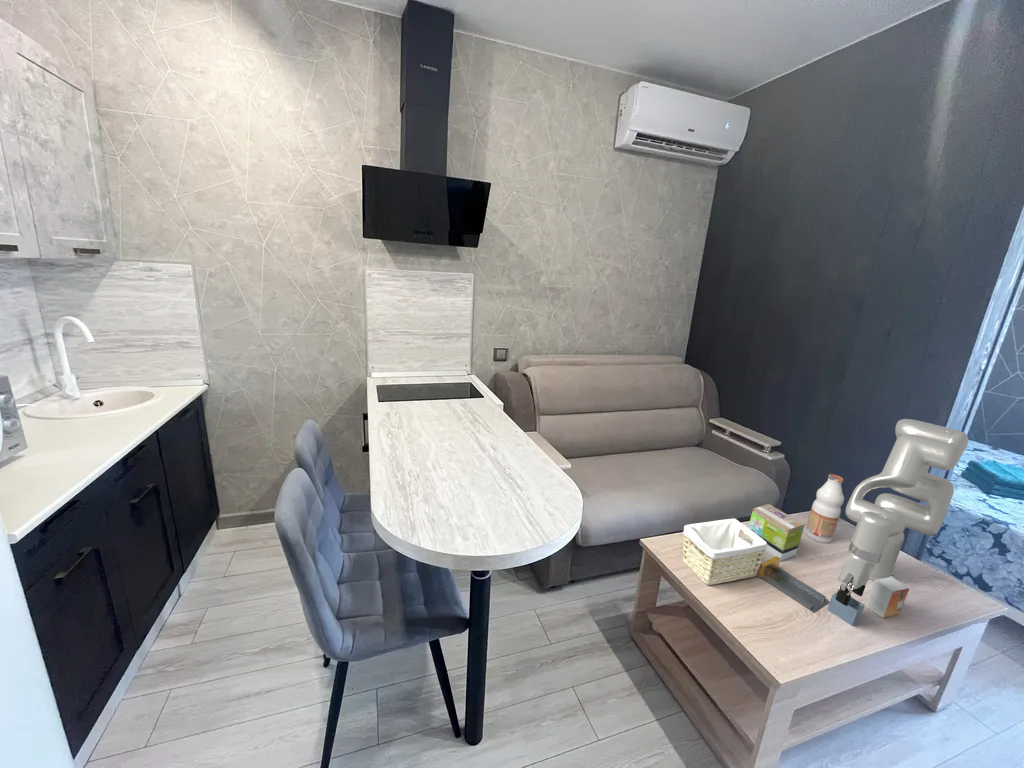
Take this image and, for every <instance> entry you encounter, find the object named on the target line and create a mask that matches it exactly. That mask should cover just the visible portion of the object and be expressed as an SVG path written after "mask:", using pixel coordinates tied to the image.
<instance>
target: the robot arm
mask: <svg viewBox="0 0 1024 768" xmlns="http://www.w3.org/2000/svg"><path fill="white" fill-rule="evenodd" d="M894 430H895V431H894V432H895V437H896V440H895V442H894V445H893V447H892V450H891V451H890V453H889V455H888V458H887V460H886V462H885V464H884V467H883V469H882V471H881V472H880V473H879V474H876V475H873V476H870V477H868V478H866V479H864V480H862V481H861V482H860V483H858V485H856V487H855V488H854V490H853V492H851V493H852V494H851V496H850V497H849V499H848V501H847V504H846V507H845V515H846V517H847V518H848V519H849V520H851V521H853V522H855V523H856V526H855V528H854V529H855V530H854V532H853V535H852V539H851V541H850V544H849V546H848V547H849V548H848V553H849V554H848V556H847V558H846V560H845V562H844V563H843V566H842V568H841V571H840V573H839V576H838V581H839V582H841V583H840V586H839V587H838V590H837V592H838V593H837V596H836V600H837V601H838V602H840V603H842V604H843V605H845V606H848V604H849V601H850V598H851V597H852V595H851V594H852V593H854V594H855V595H858V596H859V597H862V596H863V594H864V592H865V590H866V589H865V588H866V585H867V584H868V582H869V580H872V581H873V582H874V580H876V579H882V578H887V577H893V578H894V579H896V580H897V578H896V575H895V574H894V573H893V570H894V568H895V565H896V562H897V559H898V557H899V555H900V552H901V549H902V546H903V543H904V540H905V534H904V531H905V530H906V529H909V530H912V531H914V532H917V533H919V534H921V535H925V536H929V537H933V536H935V535H937V534H938V533H939V531H940V530H941V528H942V526H943V523H944V520H945V518H946V514H947V513H948V510H949V507H950V504H951V502H952V500H953V497H954V491H955V486H954V484H953V483H952V481H950V480H948V479H946V478H944V477H941V476H938V475H934V474H931V473H929V469H930V467H932V468H935V469H939V470H942V471H946V472H947V471H951V470H953V469H954V468H955V467H956V466H957V464H958V463H959V461H960V459H961V458H962V456H963V454H964V453H965V451H966V449H967V447H968V444H969V437H968V435H967V434H966V433H965V432H964V431H962V430H959V429H955V428H951V427H946V426H943V425H937V424H935V423H930V422H926V421H921V420H917V419H912V418H910V419H909V418H903V419H900V420H898V421H897V422H896V425H895V429H894ZM880 488H890V489H891V490H893V491H895V492H897V493H899V494H902V495H904V496H907V497H910V498H913V499H916V500H919V501H923V502H925V503H926V504H927V505H925V504H922V503H919V502H916V501H915V500H914V501H913V500H911V499H908V498H906V497H903V496H900V495H896V494H893V493H881V494H879V495H878V496H877V497H876V498H875V500H874V503H872V502H871V501H867V500H865V499H863V498H864V497H865V495H866V494H867V493H869V491H871V490H875V489H880ZM848 587H849V588H848Z"/></svg>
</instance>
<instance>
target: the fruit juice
mask: <svg viewBox="0 0 1024 768" xmlns="http://www.w3.org/2000/svg"><path fill="white" fill-rule="evenodd" d="M843 482H844V478H843V477H842V476H840V475H838V474H833V473H830V474H828V476H827V480H826V482H825V483H824V484H823V485H822V486H821V487H820V488H818V489H817V491H816V496H815V497H816V499H815V500H814V501H813V502H812V505H811V509H810V513H809V516H808V519H807V523H806V524H805V525H806V526H805V528H804V529H805V530H804V531H805V534H806V536H807V537H809V538H810V539H811V540H813V541H815V542H818V543H822V544H830V543H832V541H833V538H834V535H835V531H836V529H837V525H838V523H839V519H840V516H841V512H842V510H841V506H842V505H843V504H844V503H845V502H844V501H845V497H844V493H843V488H842V484H843Z"/></svg>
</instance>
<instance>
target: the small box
mask: <svg viewBox="0 0 1024 768" xmlns="http://www.w3.org/2000/svg"><path fill="white" fill-rule="evenodd" d="M909 591H910V587H908V586H907V585H905V584H904V583H903V582H901V581H899V580H898V579H897V578H896V579H894V578H893V577H887V578H882V579H876V580H874V581H873V583H872V586H871V588H870V591H869V594H868V597H867V599H866V603H865V604H864V605H865V606H866V608H868V609H870V610H871V611H872V612H874V613H875V614H876V615H878V616H879V617H881V618H882V619H884V618H887V617H892V616H897V615H900V614H901V610H902V608H903V606H904V604H905V601H906V599H907V597H908V593H909ZM865 606H864V607H865Z"/></svg>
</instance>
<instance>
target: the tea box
mask: <svg viewBox="0 0 1024 768" xmlns="http://www.w3.org/2000/svg"><path fill="white" fill-rule="evenodd" d="M805 525H806V524H805V523H803V522H801V521H799V520H798V519H796V518H794V517H792V516H791V515H789V514H787V513H785V512H784V511H782V510H780V509H778V508H777V507H774V505H771V504H769V503H768V504H763V505H760V506H758V507H753V508H752V512H751V515H750V520H749V523H748V528H749V529H750V530H752V531H753V532H754V533H756V534H757V535H758V536H759V537H761V538H762V539H763V540H764V541H765V542H767V549H766V550H765V553H767V555H770V556H771V557H772V558H773V557H775V556H777V557H779V558H781V559H780V562H781V561H784V560H786V559H790V558H792V557H794V556H796V554H797V551H798V548H799V546H800V541H801V539H802V535H803V532H804V529H805V527H806V526H805ZM745 539H746V540H748V541H749V542H751V543H752V544H753V540H752V539H750V538H749V537H748V536H747V535H745Z"/></svg>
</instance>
